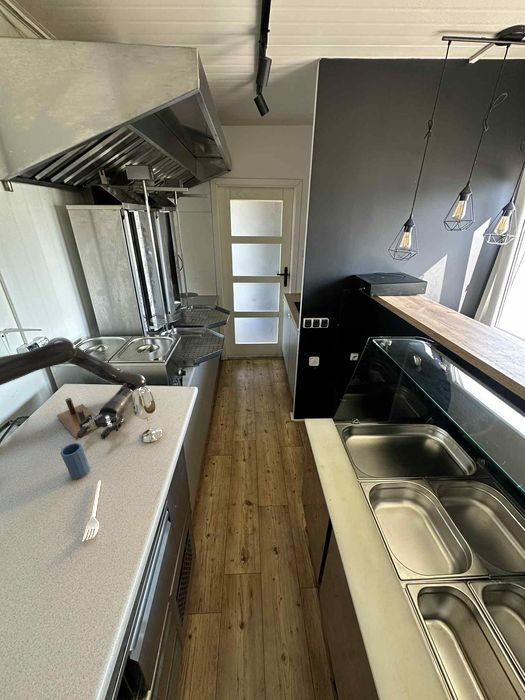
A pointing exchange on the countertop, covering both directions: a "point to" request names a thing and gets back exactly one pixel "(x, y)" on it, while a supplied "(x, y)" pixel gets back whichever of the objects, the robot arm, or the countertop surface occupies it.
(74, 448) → the tube peg
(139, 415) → the wineglass
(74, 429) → the peg rack
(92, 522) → the fork
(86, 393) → the countertop surface
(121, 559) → the countertop surface
